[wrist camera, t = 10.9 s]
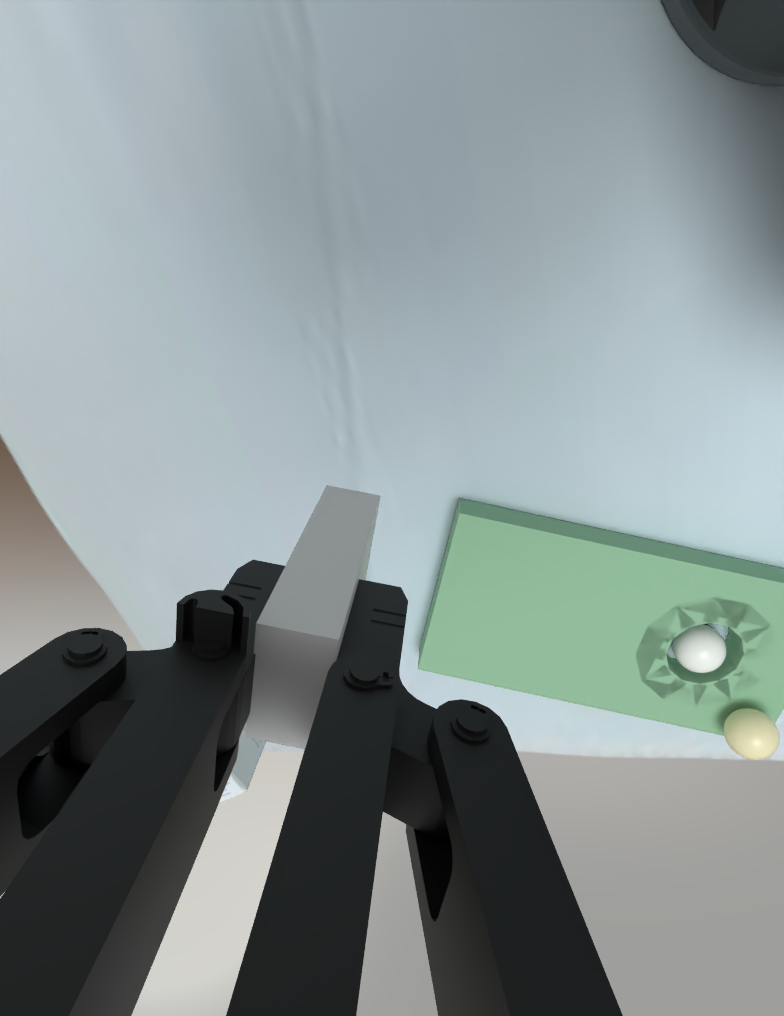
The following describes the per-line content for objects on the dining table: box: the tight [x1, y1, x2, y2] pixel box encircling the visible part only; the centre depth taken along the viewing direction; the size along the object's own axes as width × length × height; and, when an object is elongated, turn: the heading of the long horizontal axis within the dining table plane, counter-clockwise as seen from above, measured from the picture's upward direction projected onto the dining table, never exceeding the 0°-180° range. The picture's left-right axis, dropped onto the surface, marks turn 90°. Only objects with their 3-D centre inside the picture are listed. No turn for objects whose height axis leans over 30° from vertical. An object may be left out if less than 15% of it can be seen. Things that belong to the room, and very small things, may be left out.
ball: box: [673, 624, 726, 673], centre depth 44 cm, size 3×3×3 cm
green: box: [418, 498, 784, 736], centre depth 44 cm, size 26×13×2 cm, turn 79°
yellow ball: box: [723, 708, 780, 760], centre depth 43 cm, size 3×3×3 cm
